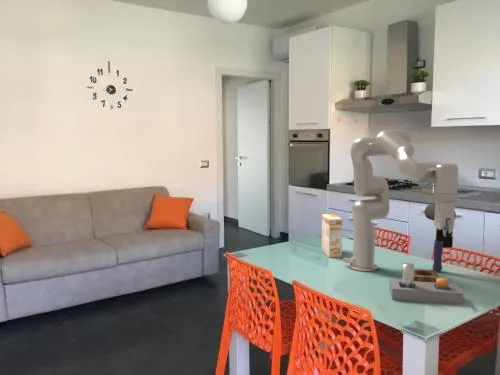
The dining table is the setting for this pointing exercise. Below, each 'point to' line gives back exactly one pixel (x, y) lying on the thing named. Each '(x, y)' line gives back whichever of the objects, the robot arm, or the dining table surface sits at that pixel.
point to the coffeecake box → (332, 235)
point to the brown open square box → (425, 275)
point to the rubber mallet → (437, 244)
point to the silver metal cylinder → (408, 275)
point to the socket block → (425, 292)
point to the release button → (442, 283)
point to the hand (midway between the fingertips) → (444, 244)
